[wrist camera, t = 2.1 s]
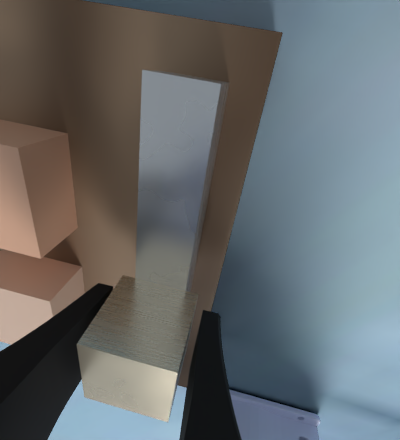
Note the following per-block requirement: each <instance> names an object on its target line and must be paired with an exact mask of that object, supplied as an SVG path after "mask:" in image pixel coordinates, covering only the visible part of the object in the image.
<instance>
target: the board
mask: <svg viewBox="0 0 400 440" xmlns="http://www.w3.org/2000/svg"><path fill="white" fill-rule="evenodd" d="M281 37H282V32H276V31H269V30H263V29H257V28H251V27H245V26H238V25H232V24H226V23H220V22H213V21H207V20H201V19H195V18H188V17H182V16H176V15H170V14H164V13H157V12H151V11H145V10H139V9H132V8H126V7H120V6H114V5H108V4H101V3H95V2H89V1H83V0H0V119H1V120H6V121H11V122H15V123H20V124H25V125H30V126H35V127H39V128H44V129H49V130H54V131H59V132H63V133H68V140H69V150H70V159H71V169H72V178H73V187H74V197H75V206H76V215H77V225H78V228H77V229H76V230H75V231H73V232H72V233H71V234H70V235H69V236H67V237H66V238H65V239H64V240H63V241H61V242H60V243H59V244H58V245H57V246H55V247H54V248H53V249H52V250H51V251H50V252H48V253H47V254H46V255H45V256H44V257H46V258H50V259H54V260H58V261H62V262H66V263H69V264H73V265H77V266H81V267H82V272H83V281H84V291H85V293H86V292H87V291H88V290H89V289H91V288H92V287H93V286H95V285H96V284H98V283H102V284H106V285H109V286H113V289H114V288H115V286H116V285H117V283H118V282H119V280H120V279H121V277H122V276H123V275H125V276H129V277H133V278H135V272H136V241H137V210H138V180H139V149H140V118H141V87H142V70H152V71H164V72H173V73H179V74H184V75H190V76H195V77H201V78H206V79H212V80H217V81H223V82H229V83H230V84H229V89H228V95H227V100H226V105H225V111H224V116H223V121H222V127H221V132H220V137H219V143H218V148H217V153H216V159H215V164H214V170H213V175H212V180H211V186H210V191H209V196H208V202H207V207H206V212H205V218H204V223H203V228H202V234H201V239H200V244H199V250H198V255H197V260H196V266H195V271H194V276H193V282H192V287H191V292H192V293H196V294H198V298H197V303H196V308H195V312H194V317H193V322H192V327H191V331H190V336H189V341H188V345H187V349H186V353H185V357H184V361H183V365H182V369H181V373H180V377H179V381H178V385H179V386H183V387H186V388H187V383H188V376H189V369H190V364H191V360H192V356H193V351H194V347H195V342H196V338H197V334H198V329H199V325H200V321H201V316H202V312H203V310H206V311H210V312H211V309H212V305H213V301H214V297H215V294H216V290H217V286H218V282H219V278H220V274H221V270H222V266H223V262H224V259H225V255H226V251H227V247H228V243H229V239H230V235H231V231H232V227H233V224H234V220H235V216H236V212H237V208H238V204H239V200H240V196H241V192H242V189H243V185H244V181H245V177H246V173H247V169H248V165H249V161H250V157H251V153H252V150H253V146H254V142H255V138H256V134H257V130H258V126H259V122H260V118H261V115H262V111H263V107H264V103H265V99H266V95H267V91H268V87H269V83H270V80H271V76H272V72H273V68H274V64H275V60H276V56H277V52H278V48H279V45H280V41H281ZM1 250H3V249H1V248H0V251H1Z"/></svg>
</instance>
